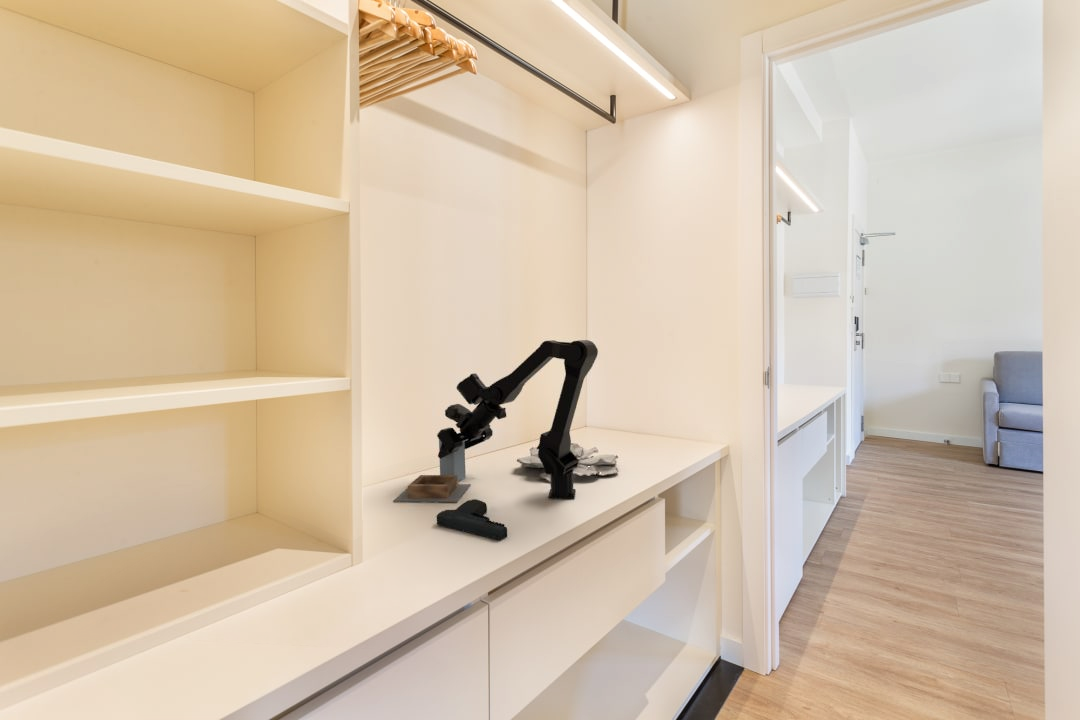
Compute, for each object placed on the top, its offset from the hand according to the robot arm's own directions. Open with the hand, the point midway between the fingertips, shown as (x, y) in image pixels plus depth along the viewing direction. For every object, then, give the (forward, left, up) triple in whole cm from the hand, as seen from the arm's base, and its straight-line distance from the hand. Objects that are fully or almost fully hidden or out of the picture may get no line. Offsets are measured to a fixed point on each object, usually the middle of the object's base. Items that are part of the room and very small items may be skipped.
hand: (449, 453), depth 146 cm
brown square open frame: (-13, +1, -7) cm, 15 cm away
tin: (0, -1, -7) cm, 7 cm away
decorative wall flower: (+12, -32, -8) cm, 35 cm away
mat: (-13, +1, -7) cm, 15 cm away
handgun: (-33, -17, -8) cm, 38 cm away
